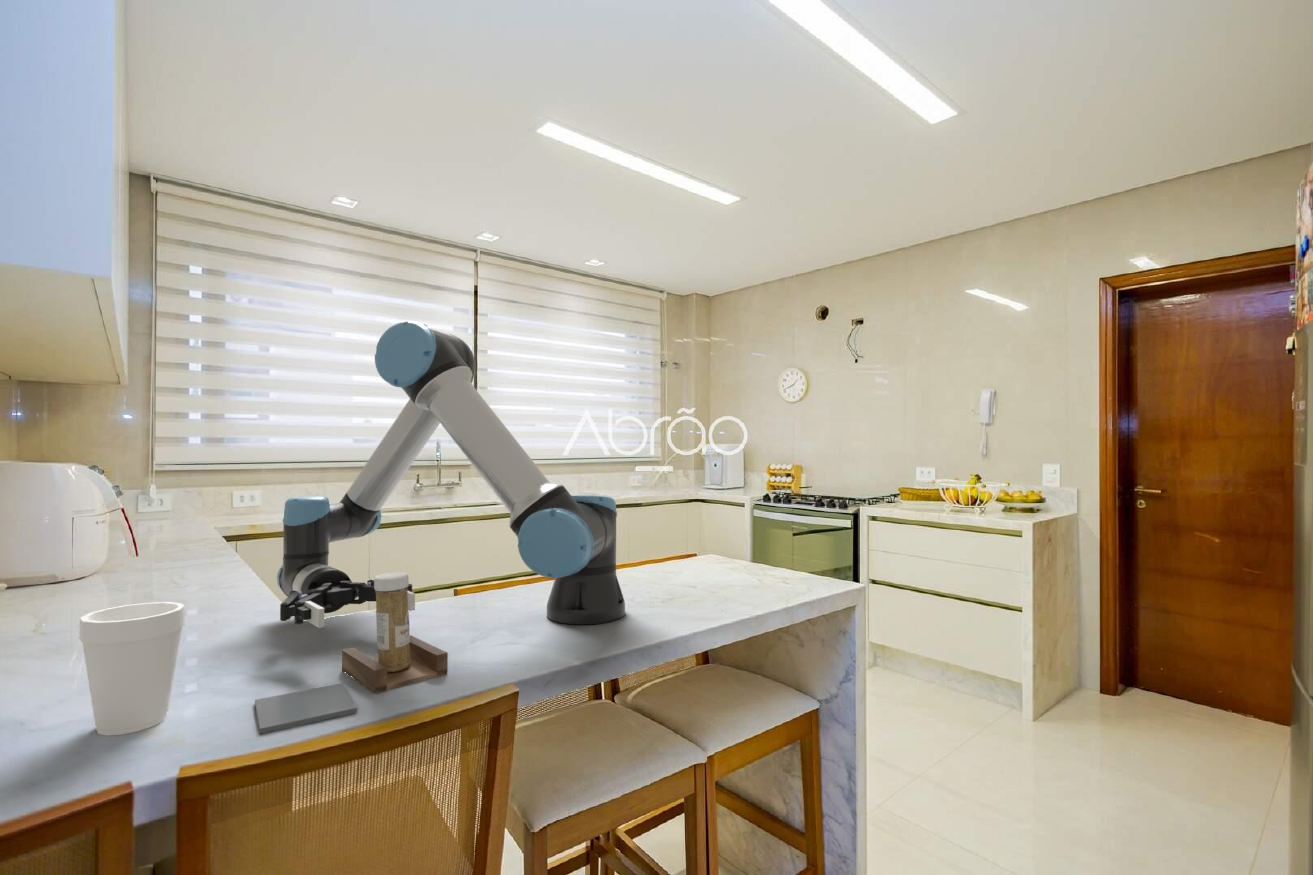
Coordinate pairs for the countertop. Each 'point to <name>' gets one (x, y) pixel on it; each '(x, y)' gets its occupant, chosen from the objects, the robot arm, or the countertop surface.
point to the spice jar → (392, 620)
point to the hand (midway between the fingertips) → (369, 609)
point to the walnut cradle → (375, 676)
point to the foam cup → (131, 663)
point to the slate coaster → (303, 707)
